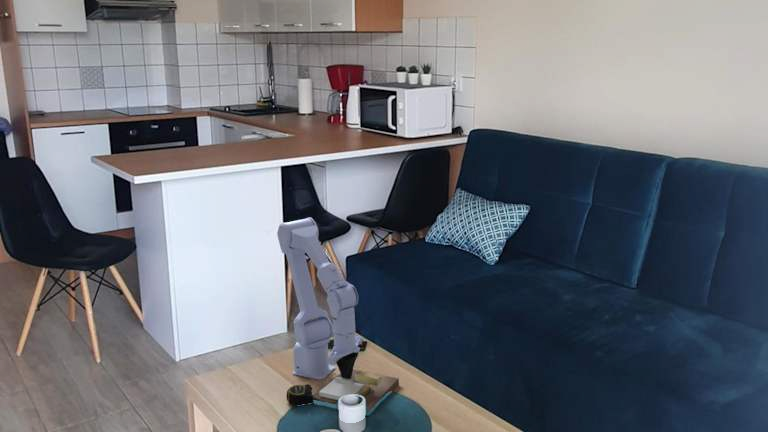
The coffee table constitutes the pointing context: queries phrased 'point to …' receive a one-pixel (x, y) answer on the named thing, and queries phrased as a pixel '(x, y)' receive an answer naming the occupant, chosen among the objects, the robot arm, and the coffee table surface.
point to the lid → (341, 388)
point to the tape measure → (299, 395)
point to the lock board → (371, 397)
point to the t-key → (367, 380)
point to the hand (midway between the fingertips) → (346, 378)
